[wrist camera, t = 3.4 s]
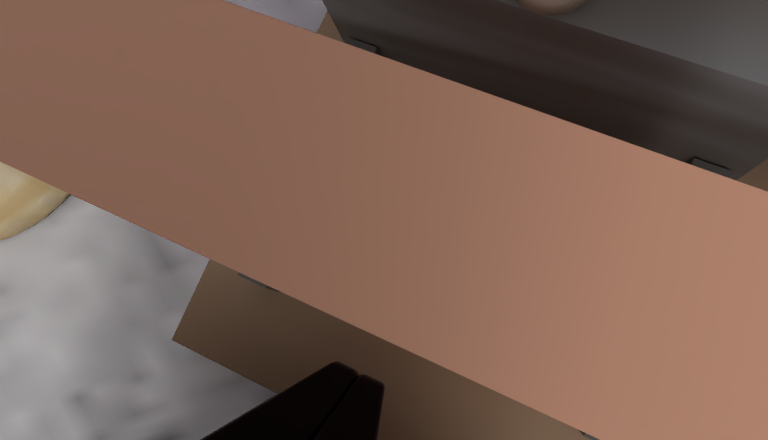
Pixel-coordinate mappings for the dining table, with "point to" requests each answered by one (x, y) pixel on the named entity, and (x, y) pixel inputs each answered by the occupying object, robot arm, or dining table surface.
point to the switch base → (329, 339)
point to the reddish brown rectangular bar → (407, 207)
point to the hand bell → (24, 200)
